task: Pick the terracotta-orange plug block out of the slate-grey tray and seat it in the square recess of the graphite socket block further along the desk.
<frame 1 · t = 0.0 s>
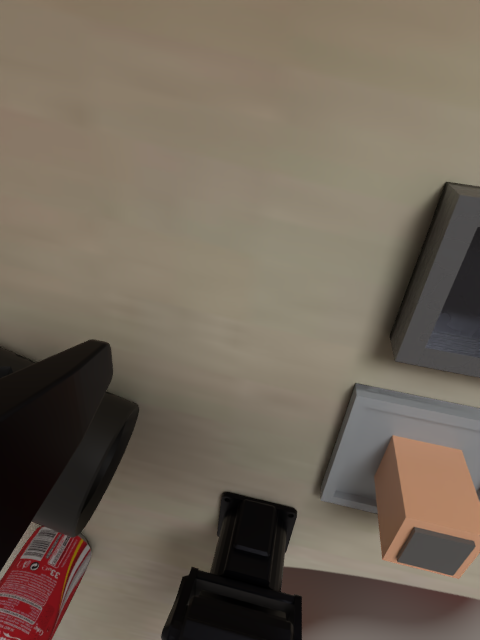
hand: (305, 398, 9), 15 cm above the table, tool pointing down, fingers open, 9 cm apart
tray: (414, 457, 29), on the table
plug: (415, 464, 28), point 1 cm above the table, touching tray
soda can: (68, 535, 45), on the table
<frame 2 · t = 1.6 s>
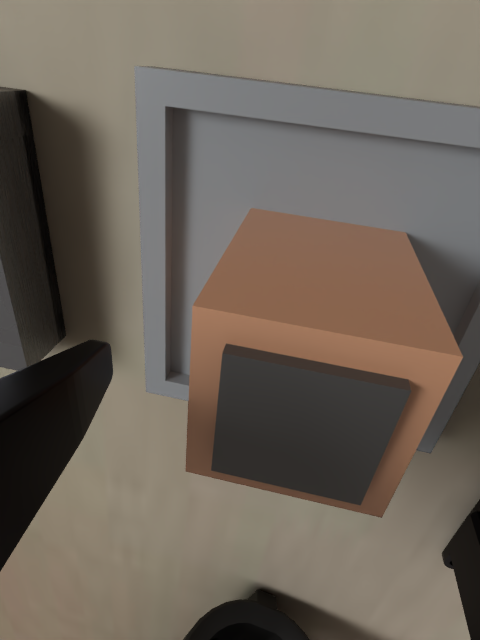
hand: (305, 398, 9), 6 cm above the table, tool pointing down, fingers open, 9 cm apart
tray: (312, 279, 13), on the table
plug: (311, 287, 13), point 1 cm above the table, touching tray
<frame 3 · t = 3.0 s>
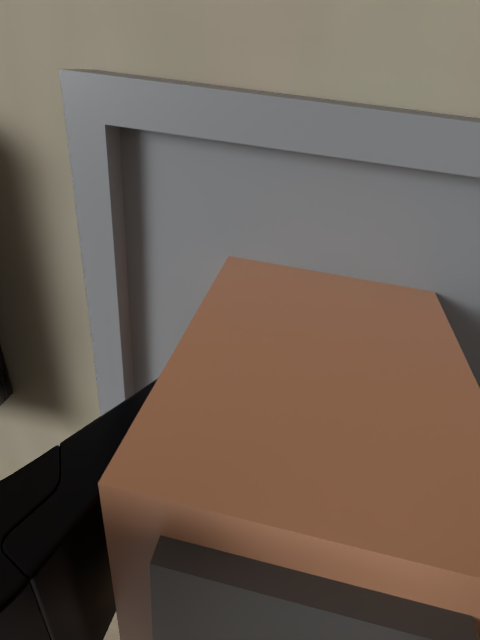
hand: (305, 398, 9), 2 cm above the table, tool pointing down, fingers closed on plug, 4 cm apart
tray: (310, 341, 10), on the table
plug: (308, 354, 10), point 1 cm above the table, touching gripper, tray
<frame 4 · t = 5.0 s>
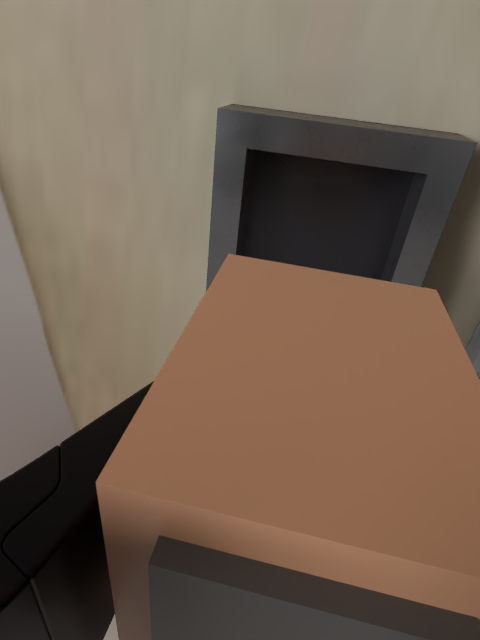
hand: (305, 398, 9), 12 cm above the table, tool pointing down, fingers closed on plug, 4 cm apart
socket: (318, 226, 19), on the table
plug: (309, 353, 10), point 10 cm above the table, touching gripper
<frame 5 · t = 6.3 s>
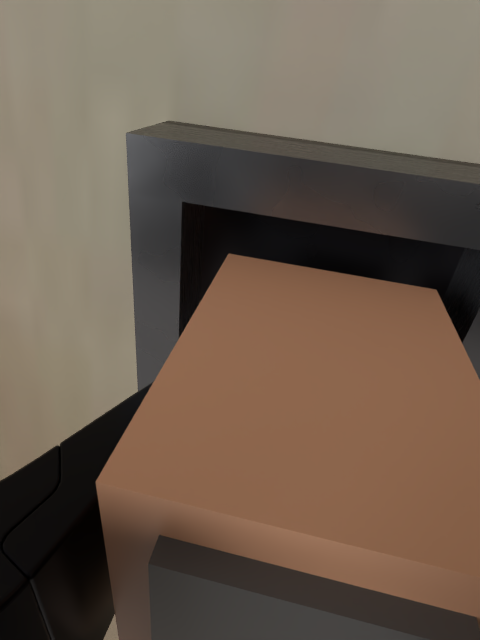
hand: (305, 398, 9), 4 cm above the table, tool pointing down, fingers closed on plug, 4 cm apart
socket: (310, 306, 12), on the table
plug: (309, 353, 10), point 3 cm above the table, touching gripper
when the fingers open (4 cm above the table, at t = 7.1 s): plug drops 2 cm, resting on socket.
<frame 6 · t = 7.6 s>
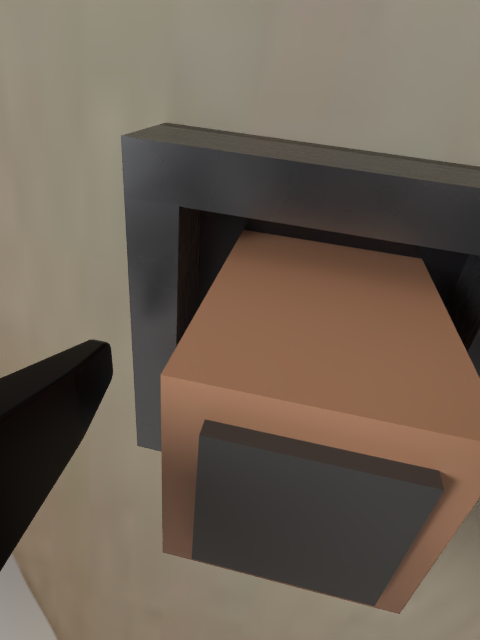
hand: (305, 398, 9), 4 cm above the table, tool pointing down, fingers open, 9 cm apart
socket: (311, 311, 12), on the table
plug: (313, 318, 11), resting on socket
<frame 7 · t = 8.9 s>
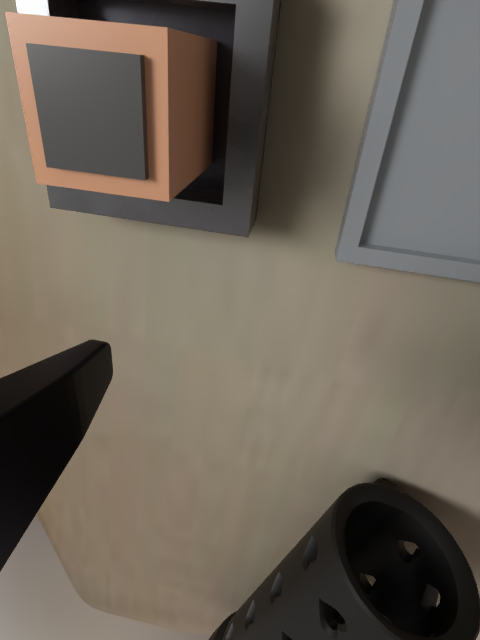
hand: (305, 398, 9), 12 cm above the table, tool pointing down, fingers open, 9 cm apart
socket: (164, 101, 17), on the table
plug: (161, 100, 17), resting on socket
muzzle brake: (303, 560, 35), on the table
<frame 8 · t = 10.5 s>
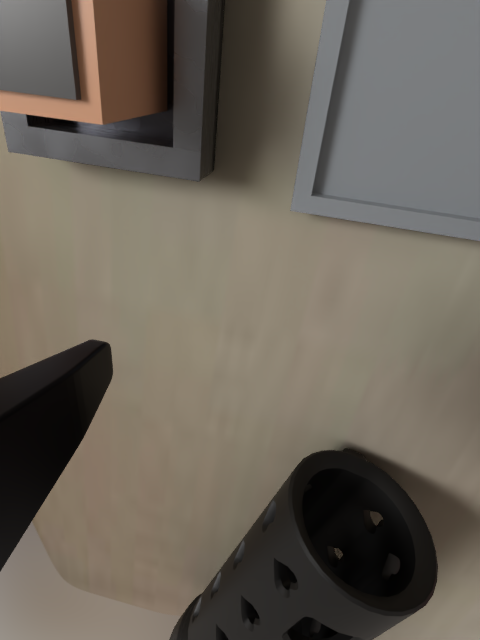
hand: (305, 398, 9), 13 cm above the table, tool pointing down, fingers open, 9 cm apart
socket: (120, 47, 17), on the table
tray: (454, 87, 16), on the table
plug: (116, 44, 17), resting on socket
muzzle brake: (276, 537, 35), on the table
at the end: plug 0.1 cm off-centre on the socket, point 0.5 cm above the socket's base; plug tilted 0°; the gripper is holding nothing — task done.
